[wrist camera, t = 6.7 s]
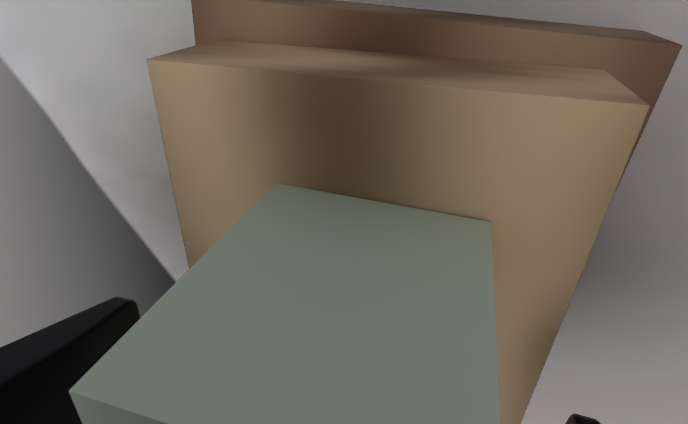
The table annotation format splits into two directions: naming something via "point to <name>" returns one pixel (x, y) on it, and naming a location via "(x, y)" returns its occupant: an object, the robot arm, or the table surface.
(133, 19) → the table surface
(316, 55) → the oak slab
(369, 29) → the walnut slab
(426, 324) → the sage block
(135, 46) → the table surface
